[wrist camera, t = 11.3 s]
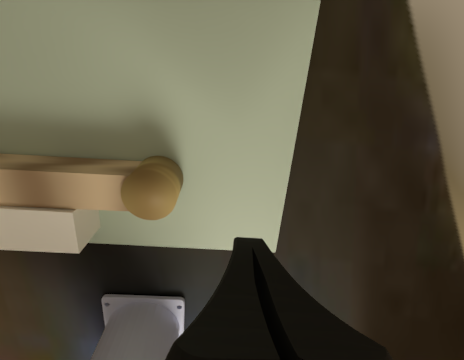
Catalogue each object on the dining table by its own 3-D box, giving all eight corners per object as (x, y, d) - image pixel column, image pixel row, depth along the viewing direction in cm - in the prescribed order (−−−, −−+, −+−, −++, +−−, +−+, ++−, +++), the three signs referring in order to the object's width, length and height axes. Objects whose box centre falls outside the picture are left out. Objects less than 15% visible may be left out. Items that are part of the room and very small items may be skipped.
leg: (183, 157, 20) (176, 172, 17) (183, 200, 21) (176, 221, 18) (-26, 145, 19) (-72, 159, 16) (-12, 191, 20) (-52, 211, 17)
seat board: (273, 245, 24) (275, 252, 23) (1, 231, 23) (-8, 238, 22) (315, 4, 17) (320, 0, 16) (-77, -39, 16) (-96, -46, 15)
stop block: (100, 226, 22) (79, 253, 19) (12, 221, 21) (-25, 248, 18) (96, 190, 21) (72, 212, 17) (2, 184, 20) (-40, 206, 17)
